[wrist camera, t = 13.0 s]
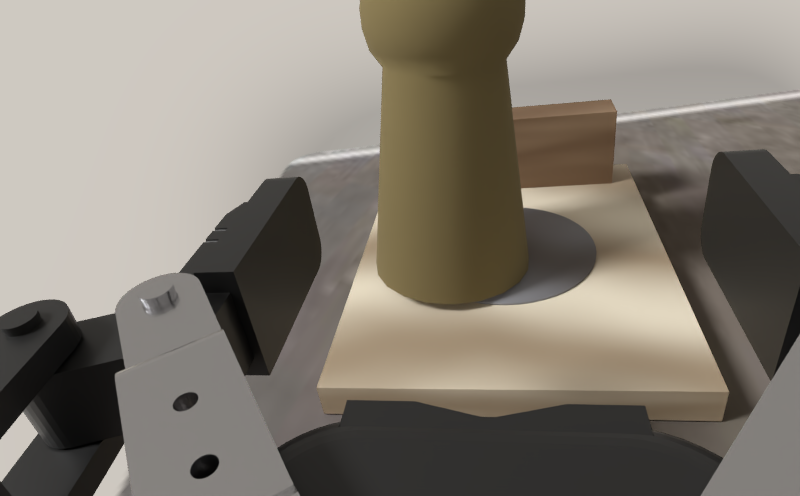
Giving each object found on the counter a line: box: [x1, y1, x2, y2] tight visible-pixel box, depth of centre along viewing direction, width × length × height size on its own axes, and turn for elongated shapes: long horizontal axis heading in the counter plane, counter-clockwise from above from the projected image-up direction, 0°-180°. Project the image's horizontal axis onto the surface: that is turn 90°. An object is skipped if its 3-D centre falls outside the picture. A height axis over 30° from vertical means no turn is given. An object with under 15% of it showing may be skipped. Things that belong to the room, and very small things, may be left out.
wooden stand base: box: [317, 100, 729, 421], centre depth 22 cm, size 15×12×5 cm
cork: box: [359, 0, 529, 304], centre depth 20 cm, size 6×6×11 cm
